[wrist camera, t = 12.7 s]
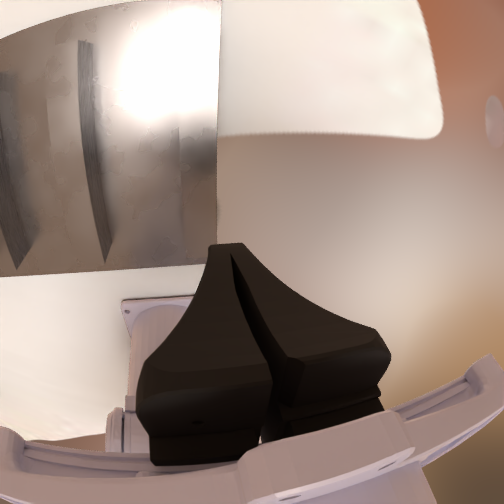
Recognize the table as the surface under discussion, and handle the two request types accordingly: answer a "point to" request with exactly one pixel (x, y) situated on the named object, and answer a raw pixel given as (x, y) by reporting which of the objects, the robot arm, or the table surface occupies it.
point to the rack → (110, 139)
